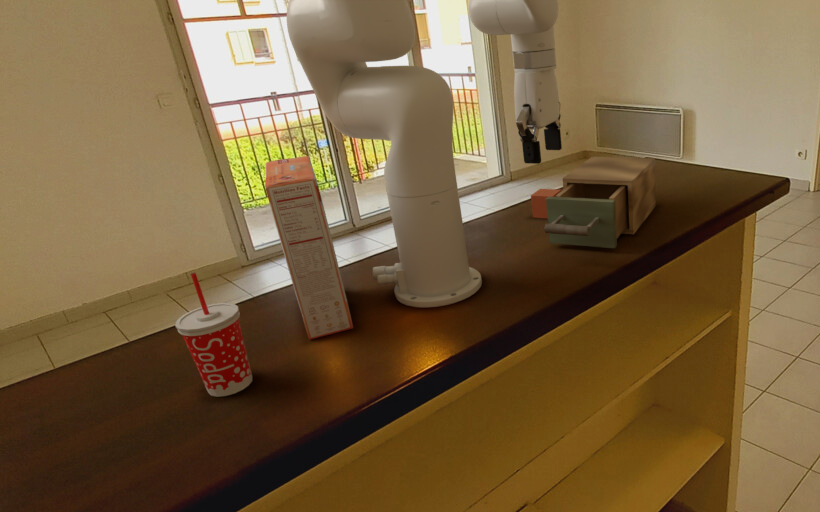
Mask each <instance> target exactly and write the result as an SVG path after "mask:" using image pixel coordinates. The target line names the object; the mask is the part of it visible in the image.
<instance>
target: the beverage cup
mask: <svg viewBox="0 0 820 512" xmlns="http://www.w3.org/2000/svg"><path fill="white" fill-rule="evenodd" d="M190 277H191V279H192V282H193V285H194V289H195V291H196V295H197V297H198V301H199V303H200V307H197V308H195V309H192V310H189V311H187V312H186V313H184V314H182V315H181V316H180V317H179V318H178V319H176V320H175V324H174V326H175V329H176V330H177V333H179V334H180V335H181V336H182V338H183V340H184V342H185V344H186V347H187V349H188V351H189V353H190V355H191V358H192V360H193V362H194V364H195V366H196V369H197V371H198V373H199V375H200V378H201V380H202V382H203V384H204V387H205V389H206V391H207V394H209V395H210V396H211V397H217V398H219V397H227V396H231V395H234V394H237V393H239V392H241V391H243V390H244V389H246V388H248V387H249V386H250V384H252V382H253V374H252V370H251V369H252V368H251V365H250V362H249V357H248V352H247V347H246V344H245V339H244V335H243V331H242V326H241V322H240V318H241V317H240V316H241V313H240V308H239V306H238V305H237V304H235V303H231V302H218V303H217V302H216V303H211V304H207V303H206V300H205V296H204V293H203V290H202V288H201V284H200V281H199V279H198V275H197V273H196V272H191V273H190Z"/></svg>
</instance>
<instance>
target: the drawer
mask: <svg viewBox="0 0 820 512" xmlns="http://www.w3.org/2000/svg"><path fill="white" fill-rule="evenodd" d="M546 205H547V216H548V219H547V223H545V225H544V233H545V234H548V237H549V244H555V245H567V246H580V247H581V246H582V247H591V248H604V249H616V248H617V247H618V238H619V237H620V236H621V235H622V234H621V233H622V232H623V231H624V230H625V228H626V227H627V226H628V225H629V207H628V185H609V184H585V183H571V184H570V185H569V186H568V187H566V188H565V189H564V190H563V189H561V192H560V193H559V194H557V195H556V197H548V198H546Z"/></svg>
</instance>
